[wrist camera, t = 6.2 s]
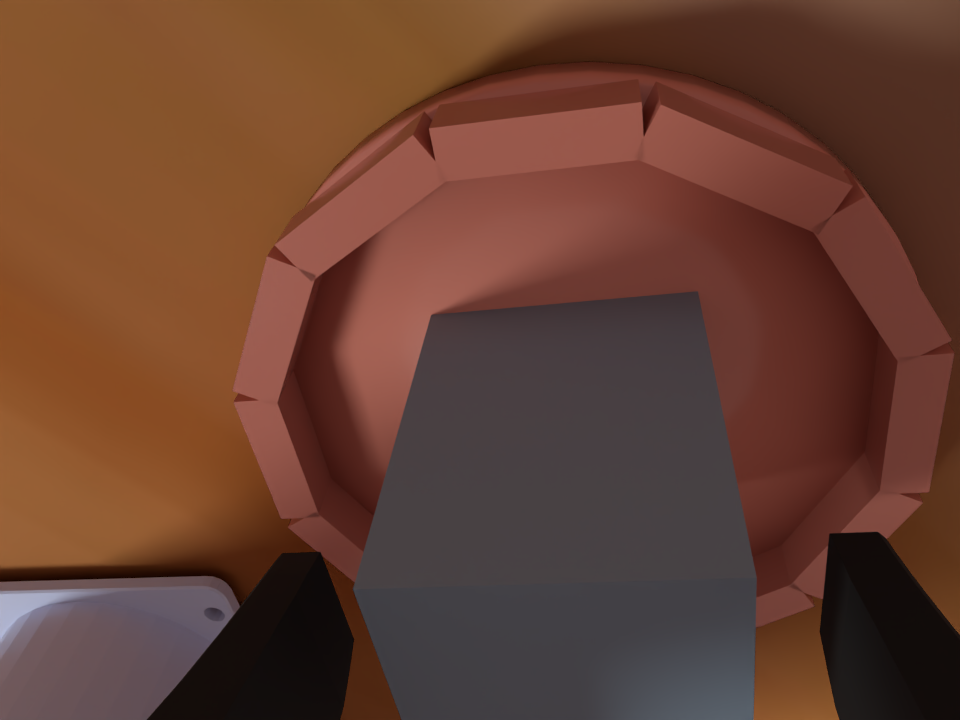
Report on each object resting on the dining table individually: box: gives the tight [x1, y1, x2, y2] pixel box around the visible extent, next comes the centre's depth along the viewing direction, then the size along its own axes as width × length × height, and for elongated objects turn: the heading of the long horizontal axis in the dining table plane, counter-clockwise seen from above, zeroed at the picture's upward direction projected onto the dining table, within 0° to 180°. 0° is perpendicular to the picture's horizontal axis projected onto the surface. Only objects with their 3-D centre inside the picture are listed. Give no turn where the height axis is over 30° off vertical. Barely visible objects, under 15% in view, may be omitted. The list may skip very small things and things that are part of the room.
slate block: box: [353, 291, 757, 720], centre depth 13 cm, size 4×4×6 cm
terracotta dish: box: [233, 62, 955, 628], centre depth 16 cm, size 12×12×2 cm
